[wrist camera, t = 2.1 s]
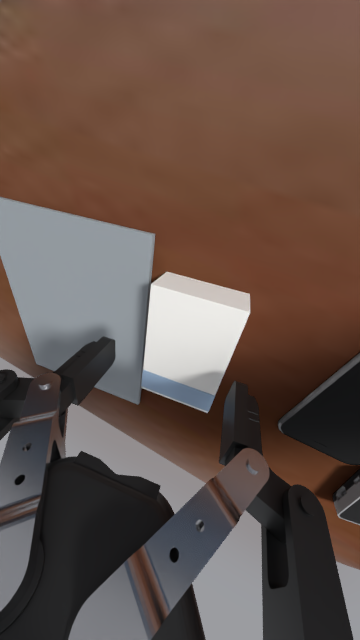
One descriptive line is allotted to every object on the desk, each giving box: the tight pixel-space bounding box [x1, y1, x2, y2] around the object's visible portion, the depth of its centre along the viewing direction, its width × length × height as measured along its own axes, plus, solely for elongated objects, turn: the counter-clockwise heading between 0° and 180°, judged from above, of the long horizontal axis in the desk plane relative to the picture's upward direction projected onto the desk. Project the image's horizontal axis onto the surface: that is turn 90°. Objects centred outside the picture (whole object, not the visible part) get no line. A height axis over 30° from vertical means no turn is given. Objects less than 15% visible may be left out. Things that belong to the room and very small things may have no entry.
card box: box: [141, 272, 250, 413], centre depth 15 cm, size 10×6×3 cm, turn 170°
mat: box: [0, 197, 155, 405], centre depth 18 cm, size 14×18×1 cm
